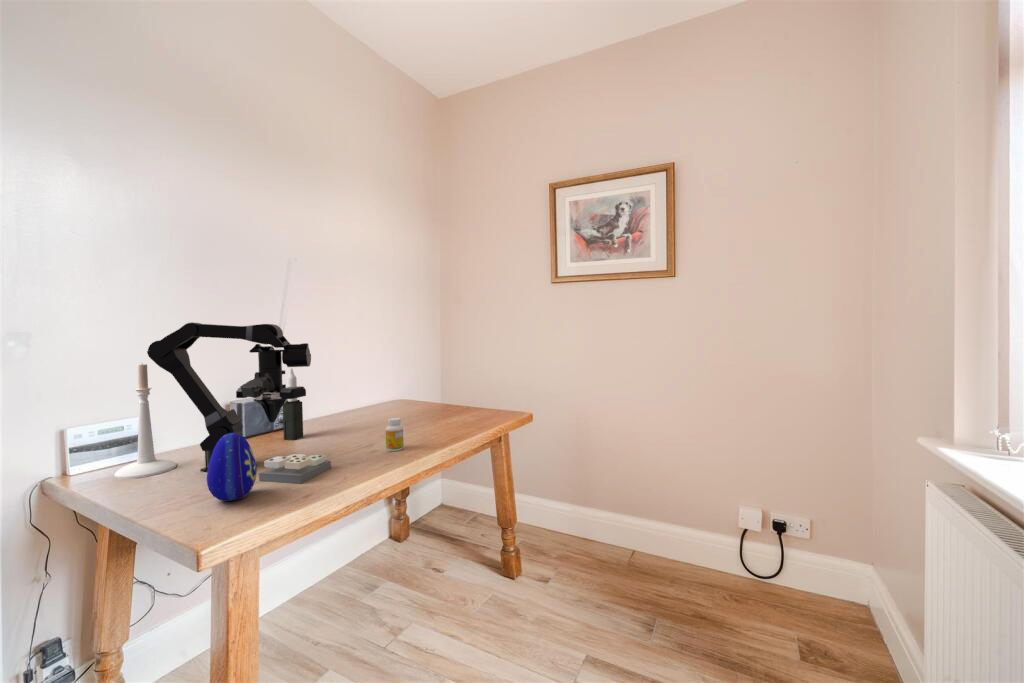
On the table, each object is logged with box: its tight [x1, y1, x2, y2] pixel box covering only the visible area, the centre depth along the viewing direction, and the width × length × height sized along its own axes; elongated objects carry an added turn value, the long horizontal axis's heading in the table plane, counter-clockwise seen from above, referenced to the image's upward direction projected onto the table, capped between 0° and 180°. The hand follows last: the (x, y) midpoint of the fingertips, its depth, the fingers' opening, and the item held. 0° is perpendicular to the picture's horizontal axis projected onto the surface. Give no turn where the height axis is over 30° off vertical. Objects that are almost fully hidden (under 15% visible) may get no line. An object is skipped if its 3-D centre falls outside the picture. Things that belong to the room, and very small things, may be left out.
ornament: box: [206, 433, 258, 502], centre depth 93 cm, size 11×9×15 cm
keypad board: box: [258, 459, 332, 485], centre depth 109 cm, size 12×12×2 cm
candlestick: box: [114, 363, 177, 480], centre depth 113 cm, size 13×13×30 cm
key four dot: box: [285, 457, 311, 469], centre depth 106 cm, size 4×4×2 cm
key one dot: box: [286, 453, 308, 459], centre depth 113 cm, size 4×4×2 cm
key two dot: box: [263, 455, 291, 468], centre depth 107 cm, size 4×4×2 cm
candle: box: [282, 367, 304, 441], centre depth 146 cm, size 5×5×25 cm
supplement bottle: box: [385, 417, 405, 452], centre depth 131 cm, size 5×5×10 cm
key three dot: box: [307, 454, 327, 466], centre depth 111 cm, size 4×4×2 cm
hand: (272, 422), depth 118 cm, fingers closed
